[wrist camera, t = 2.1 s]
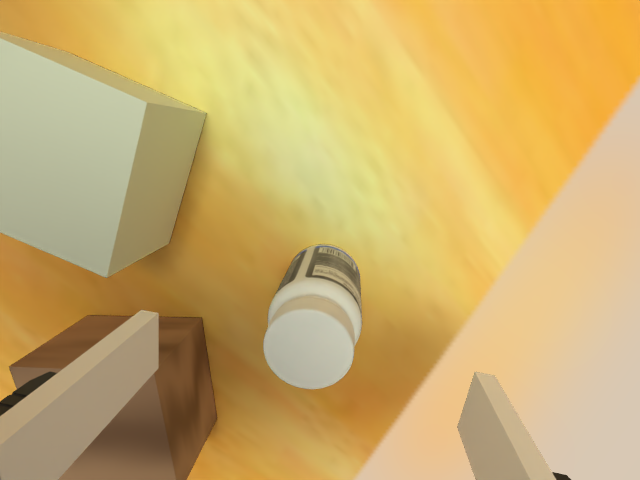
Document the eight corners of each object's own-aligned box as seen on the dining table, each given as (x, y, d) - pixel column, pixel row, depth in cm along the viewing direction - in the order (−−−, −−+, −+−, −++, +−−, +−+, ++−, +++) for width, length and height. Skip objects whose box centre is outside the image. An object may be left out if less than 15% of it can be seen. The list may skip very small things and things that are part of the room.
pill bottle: (306, 316, 23) (280, 408, 15) (278, 256, 22) (234, 322, 14) (370, 295, 22) (378, 382, 14) (345, 231, 21) (338, 287, 13)
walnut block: (87, 315, 25) (8, 366, 20) (201, 317, 24) (153, 372, 19) (112, 412, 28) (49, 483, 22) (217, 418, 27) (179, 493, 21)
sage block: (67, 51, 20) (-49, 16, 14) (206, 113, 20) (147, 102, 14) (46, 190, 23) (-59, 207, 17) (169, 243, 23) (106, 277, 17)
